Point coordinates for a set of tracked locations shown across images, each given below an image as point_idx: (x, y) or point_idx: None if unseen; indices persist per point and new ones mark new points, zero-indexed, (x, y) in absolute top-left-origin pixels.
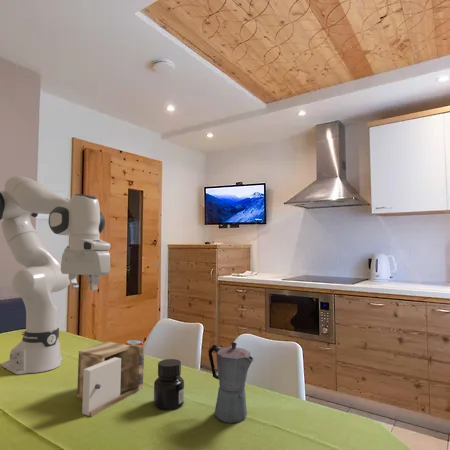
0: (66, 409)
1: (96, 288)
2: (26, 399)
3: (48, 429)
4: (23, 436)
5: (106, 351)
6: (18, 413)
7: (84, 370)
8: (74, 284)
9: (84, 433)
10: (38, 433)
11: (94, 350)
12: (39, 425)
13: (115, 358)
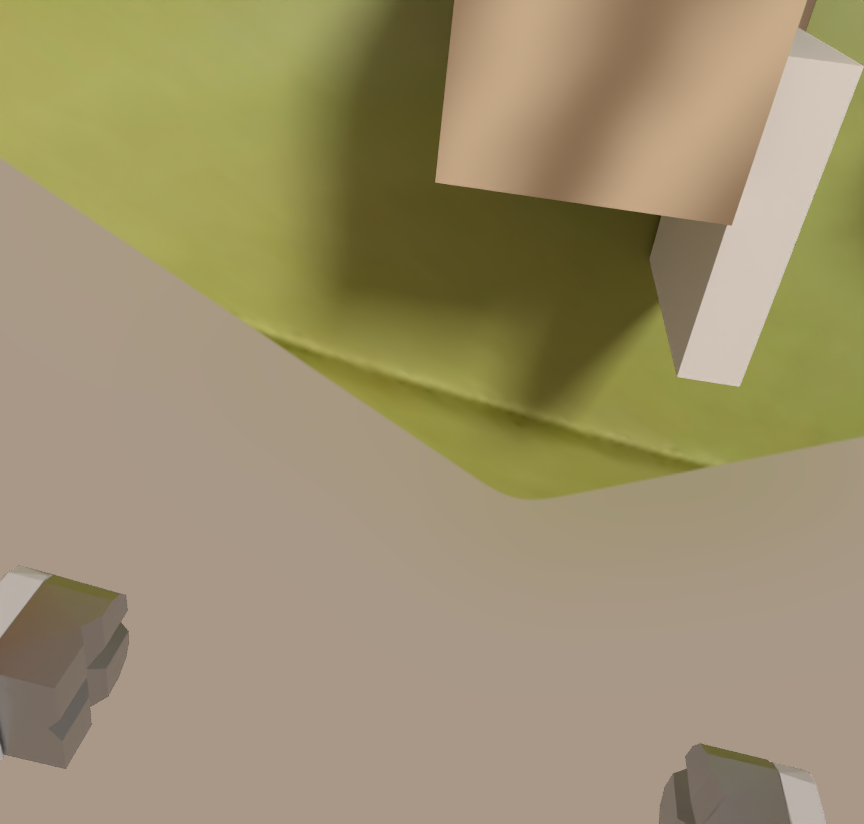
0: (528, 237)
1: (804, 803)
2: (232, 213)
3: (587, 397)
4: (531, 454)
5: (706, 106)
6: (342, 334)
7: (684, 374)
8: (82, 729)
9: (766, 383)
10: (570, 428)
11: (568, 122)
12: (524, 384)
13: (805, 90)
